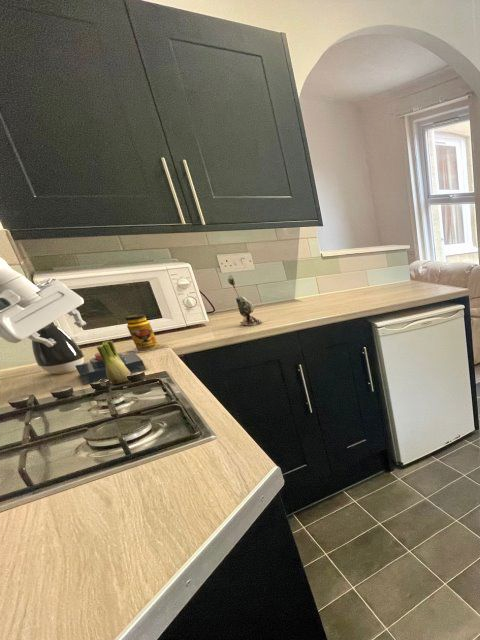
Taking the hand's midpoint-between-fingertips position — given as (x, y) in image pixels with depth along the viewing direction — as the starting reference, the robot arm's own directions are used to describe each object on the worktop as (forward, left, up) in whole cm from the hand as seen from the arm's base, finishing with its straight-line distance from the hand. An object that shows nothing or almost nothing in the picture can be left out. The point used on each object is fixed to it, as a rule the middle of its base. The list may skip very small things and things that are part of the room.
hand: (68, 335), depth 119 cm
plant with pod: (+52, +23, -13) cm, 59 cm away
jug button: (+5, -1, -8) cm, 10 cm away
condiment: (+17, +21, -13) cm, 30 cm away
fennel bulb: (+6, -14, -13) cm, 20 cm away
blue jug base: (+5, -1, -13) cm, 14 cm away
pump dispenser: (-4, +14, -13) cm, 20 cm away
